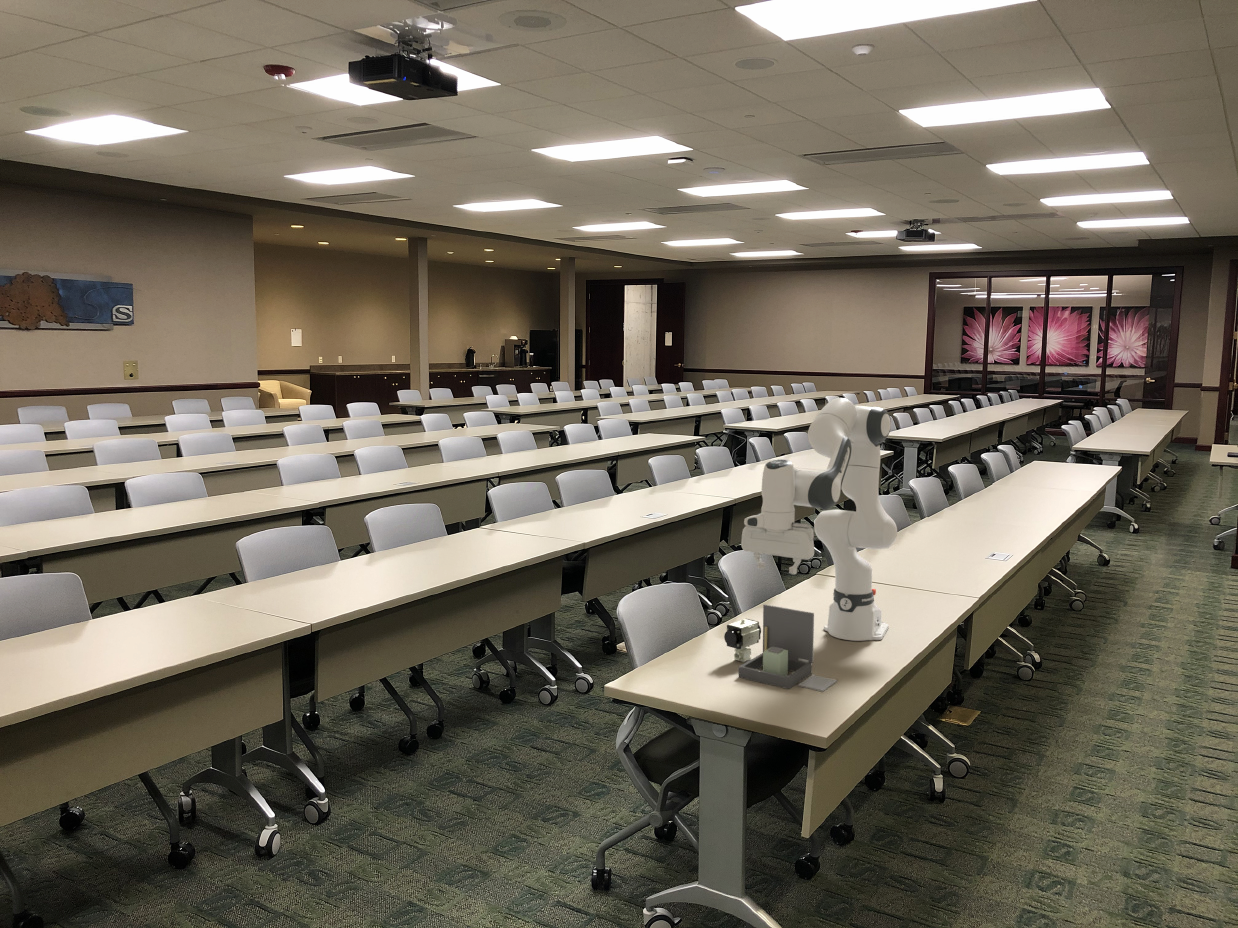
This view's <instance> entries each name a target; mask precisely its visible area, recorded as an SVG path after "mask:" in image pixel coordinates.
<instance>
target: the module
mask: <svg viewBox="0 0 1238 928" xmlns="http://www.w3.org/2000/svg"><path fill="white" fill-rule="evenodd" d="M762 653H763V666H762V671H766V672H771V673H775V674H780V675H784V676H789V674H788V673H789V670H788V650H784V649H783V648H778V647H771V648H769V649H767V650H765V651H764V652H763V651H762Z"/></svg>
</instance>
